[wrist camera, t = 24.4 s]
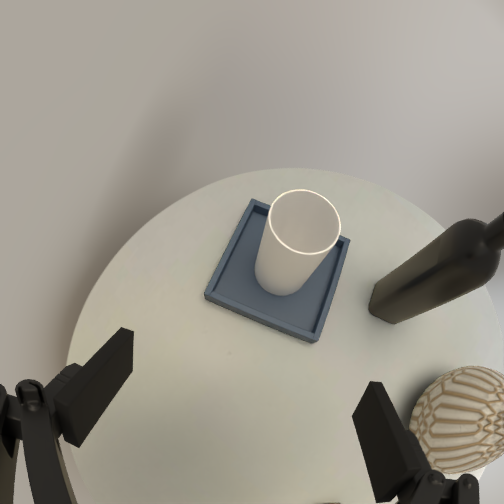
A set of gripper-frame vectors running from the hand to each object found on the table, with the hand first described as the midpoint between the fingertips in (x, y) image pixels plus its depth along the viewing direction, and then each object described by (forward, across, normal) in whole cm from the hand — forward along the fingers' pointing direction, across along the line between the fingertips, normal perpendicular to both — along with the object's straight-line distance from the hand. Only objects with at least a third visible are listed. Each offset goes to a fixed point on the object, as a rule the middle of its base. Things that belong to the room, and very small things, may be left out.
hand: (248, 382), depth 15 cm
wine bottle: (+28, +20, -2) cm, 34 cm away
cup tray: (+28, +3, -1) cm, 28 cm away
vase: (+17, +32, -17) cm, 40 cm away
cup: (+28, +3, -1) cm, 28 cm away
